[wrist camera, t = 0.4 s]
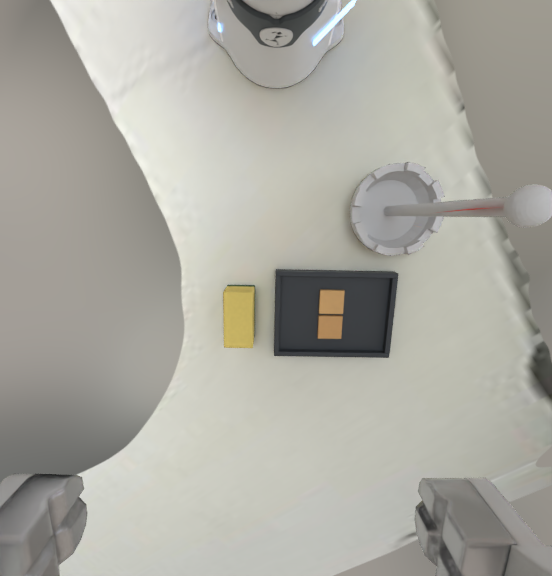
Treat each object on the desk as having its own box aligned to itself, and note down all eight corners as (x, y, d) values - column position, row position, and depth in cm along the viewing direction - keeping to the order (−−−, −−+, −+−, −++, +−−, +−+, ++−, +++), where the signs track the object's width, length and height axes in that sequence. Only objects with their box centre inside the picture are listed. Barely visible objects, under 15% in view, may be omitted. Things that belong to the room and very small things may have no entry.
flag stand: (428, 163, 48) (665, 84, 19) (426, 248, 51) (630, 291, 22) (343, 171, 49) (450, 105, 19) (346, 255, 51) (444, 308, 22)
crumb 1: (319, 289, 52) (320, 290, 51) (343, 289, 52) (344, 290, 51) (318, 312, 53) (319, 313, 52) (342, 312, 53) (343, 314, 52)
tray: (275, 269, 52) (276, 271, 50) (394, 271, 52) (398, 273, 50) (274, 351, 55) (274, 356, 53) (385, 353, 55) (389, 357, 54)
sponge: (227, 284, 52) (223, 292, 48) (254, 285, 52) (253, 292, 48) (228, 335, 54) (224, 347, 50) (254, 336, 54) (252, 348, 50)
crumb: (318, 314, 53) (318, 316, 52) (341, 315, 53) (342, 316, 52) (317, 336, 54) (317, 338, 53) (340, 337, 54) (341, 339, 53)
